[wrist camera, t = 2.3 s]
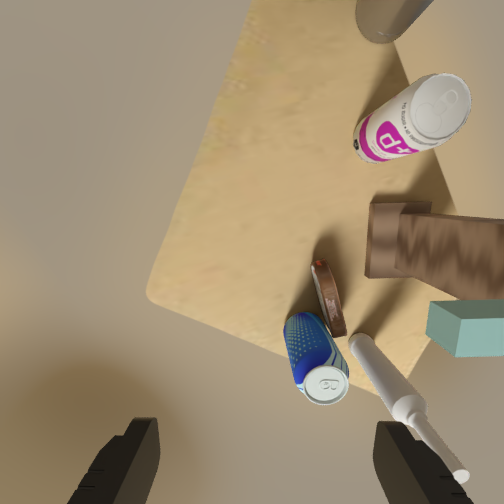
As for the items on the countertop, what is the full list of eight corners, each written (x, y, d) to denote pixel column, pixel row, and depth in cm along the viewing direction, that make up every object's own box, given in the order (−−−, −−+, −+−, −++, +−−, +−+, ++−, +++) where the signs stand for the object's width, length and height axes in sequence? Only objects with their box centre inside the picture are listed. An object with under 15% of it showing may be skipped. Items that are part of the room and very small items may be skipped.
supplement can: (370, 174, 43) (431, 161, 29) (341, 138, 42) (390, 106, 27) (407, 140, 42) (490, 109, 27) (378, 103, 41) (450, 49, 26)
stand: (369, 203, 44) (601, 211, 15) (423, 201, 44) (761, 206, 15) (364, 275, 47) (548, 398, 18) (414, 273, 47) (681, 395, 18)
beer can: (302, 352, 51) (324, 420, 35) (274, 328, 50) (284, 387, 34) (331, 326, 50) (367, 384, 34) (302, 301, 48) (327, 349, 33)
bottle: (370, 329, 50) (484, 454, 25) (372, 351, 51) (484, 490, 27) (345, 334, 50) (435, 462, 26) (348, 355, 51) (437, 497, 27)
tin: (337, 320, 50) (354, 345, 41) (322, 324, 50) (336, 349, 42) (320, 253, 46) (335, 264, 38) (304, 257, 47) (316, 270, 38)
